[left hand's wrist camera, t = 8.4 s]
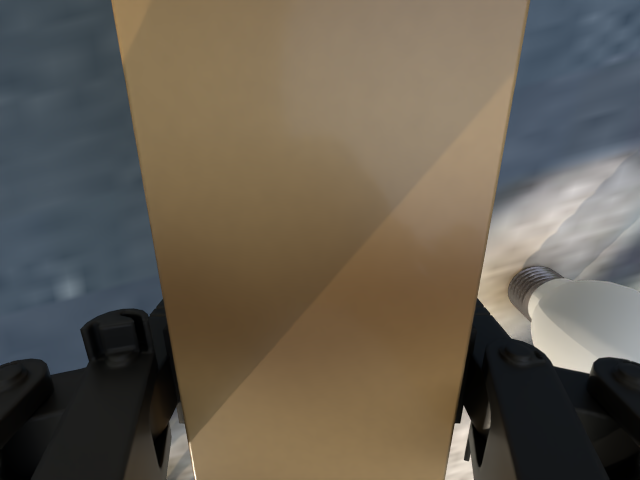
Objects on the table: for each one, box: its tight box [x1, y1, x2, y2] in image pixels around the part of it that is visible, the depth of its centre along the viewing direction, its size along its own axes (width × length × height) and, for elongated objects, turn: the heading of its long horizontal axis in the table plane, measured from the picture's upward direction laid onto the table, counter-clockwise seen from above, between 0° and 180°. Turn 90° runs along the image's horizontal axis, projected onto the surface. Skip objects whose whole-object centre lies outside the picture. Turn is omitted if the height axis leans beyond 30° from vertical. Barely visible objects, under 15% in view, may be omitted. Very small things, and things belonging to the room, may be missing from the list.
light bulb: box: [508, 266, 640, 373], centre depth 21 cm, size 7×7×11 cm
